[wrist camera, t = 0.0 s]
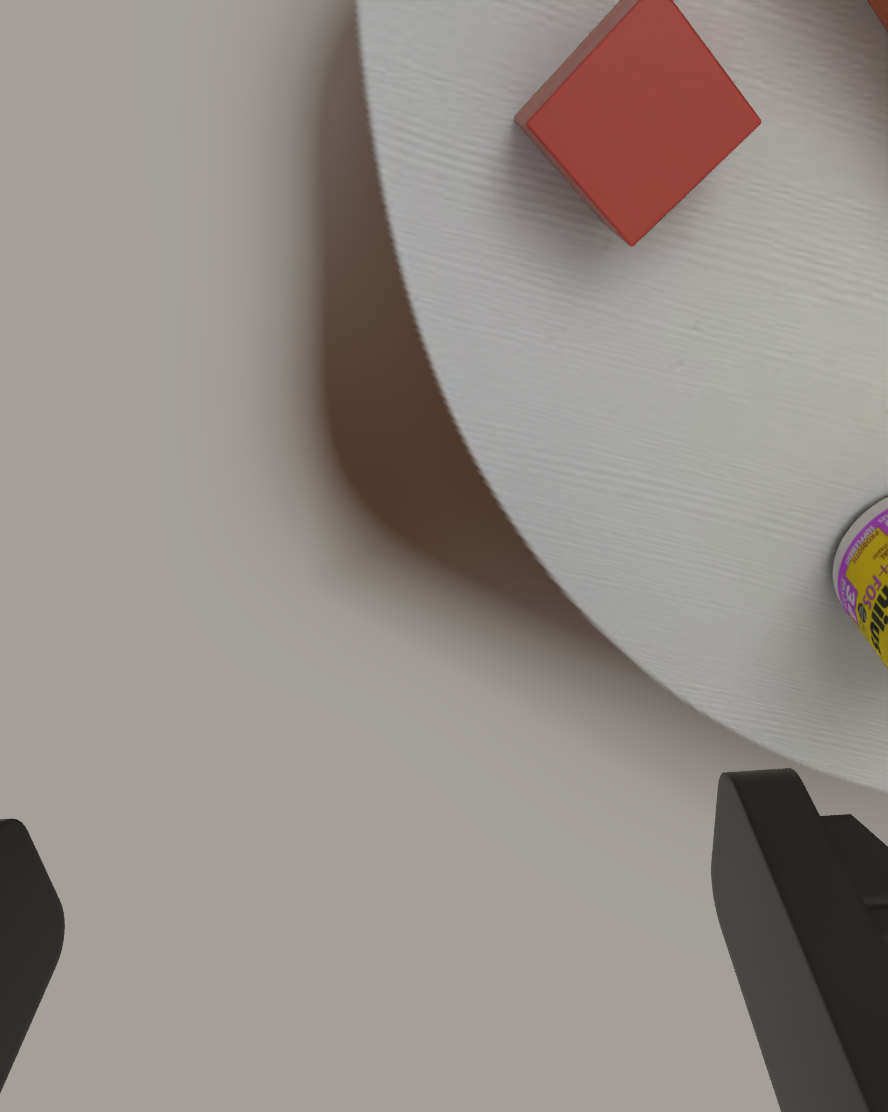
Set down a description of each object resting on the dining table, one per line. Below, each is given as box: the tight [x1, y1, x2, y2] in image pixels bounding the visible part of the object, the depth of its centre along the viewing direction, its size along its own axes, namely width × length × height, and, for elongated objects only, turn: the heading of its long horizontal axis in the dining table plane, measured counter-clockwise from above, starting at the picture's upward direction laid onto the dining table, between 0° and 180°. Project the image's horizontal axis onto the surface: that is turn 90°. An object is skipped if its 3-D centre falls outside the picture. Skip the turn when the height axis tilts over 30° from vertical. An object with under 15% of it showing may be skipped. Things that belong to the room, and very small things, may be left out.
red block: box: [514, 0, 761, 247], centre depth 25 cm, size 4×4×4 cm
